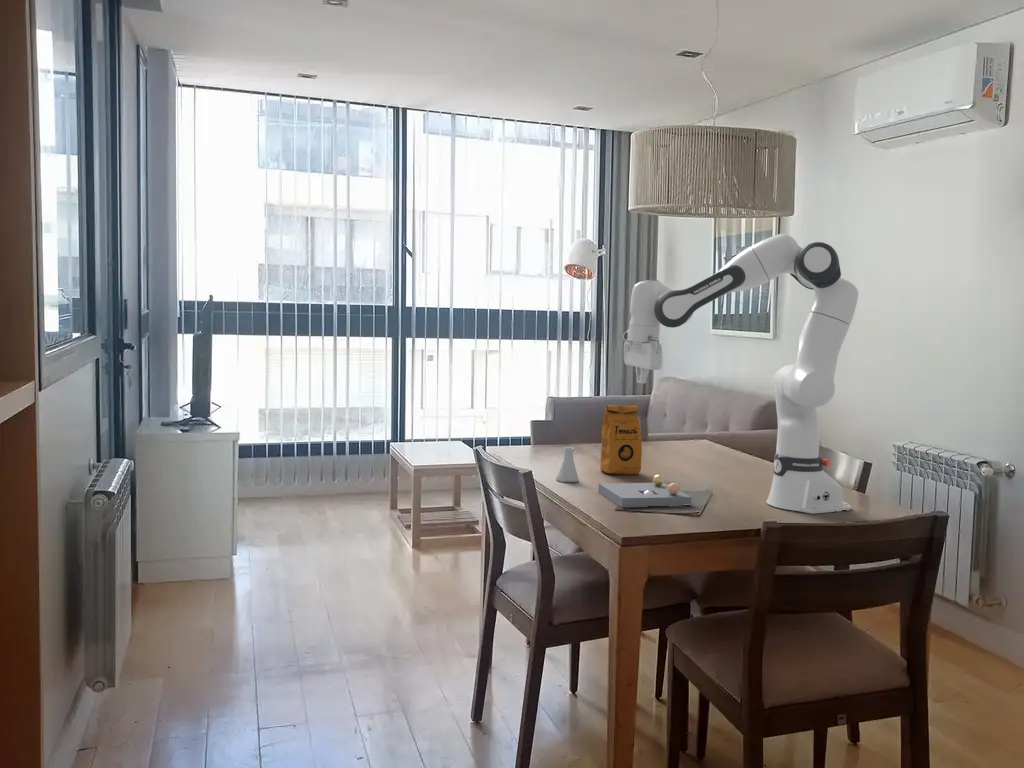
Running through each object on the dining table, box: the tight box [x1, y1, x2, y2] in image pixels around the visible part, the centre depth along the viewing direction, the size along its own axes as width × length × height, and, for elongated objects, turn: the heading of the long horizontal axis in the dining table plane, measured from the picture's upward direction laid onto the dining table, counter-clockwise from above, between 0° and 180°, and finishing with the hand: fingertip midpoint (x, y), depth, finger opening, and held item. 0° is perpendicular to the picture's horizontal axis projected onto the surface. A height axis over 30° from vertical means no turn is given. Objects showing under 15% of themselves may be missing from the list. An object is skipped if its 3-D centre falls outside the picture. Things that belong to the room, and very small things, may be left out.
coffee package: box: [599, 404, 643, 476], centre depth 265 cm, size 10×12×22 cm
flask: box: [555, 446, 580, 483], centre depth 251 cm, size 7×7×10 cm
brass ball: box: [652, 474, 665, 486], centre depth 237 cm, size 3×3×3 cm
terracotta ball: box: [668, 482, 680, 495], centre depth 226 cm, size 3×3×3 cm
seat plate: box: [597, 482, 692, 508], centre depth 230 cm, size 20×18×2 cm
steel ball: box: [643, 490, 654, 494], centre depth 227 cm, size 3×3×3 cm
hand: (641, 382), depth 243 cm, fingers closed
